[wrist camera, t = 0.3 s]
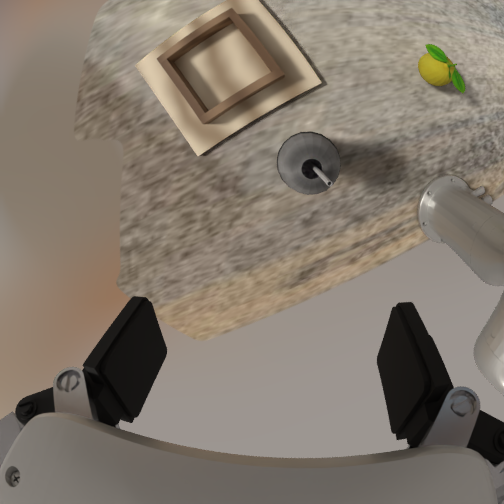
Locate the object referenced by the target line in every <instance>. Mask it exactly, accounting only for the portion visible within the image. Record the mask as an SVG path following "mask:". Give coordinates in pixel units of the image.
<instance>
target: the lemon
mask: <svg viewBox="0 0 504 504" xmlns="http://www.w3.org/2000/svg"><path fill="white" fill-rule="evenodd" d="M426 48H427V50H428V52H429V53H427V54H425V55H423V56H422V57H421V58H420V60H419V62H418V69H419V72H420V74H421V76H422V77H423V79H424V80H425V81H426V82H428V83H429V84H431V85H434V86H443V85H446V84H448V83H450V82H451V81H452V82H453V84H454V86H455V87H456V88H457V89H458V90H459V91H460V92H462V93H464V92H465V84H464V81H463V79H462V77H461V75H460V74H459V73H458V71H457V70H456V68H455V65H457V64H453V63H452V62H451V60H450V59H449V58H448V57H447V56H446V55H445V54H444V52H443V51H442V50H441V49H440V48H438V47H437V46H435V45H432V44H428V45H426Z"/></svg>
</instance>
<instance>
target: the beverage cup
mask: <svg viewBox="0 0 504 504" xmlns="http://www.w3.org/2000/svg"><path fill="white" fill-rule="evenodd" d="M277 167H278V172H279V174H280V176H281V178H282V180H283V181H284V182H285V183H286V184H287V185H288V186H289V187H290V188H292V189H294V190H295V191H297V192H299V193H303V194H307V195H309V194H318V193H321V192H324V191H326V190H327V189H328V188H330V187H331V186H332V185H333V184H334V182H335V181H336V179H337V178H338V175H339V171H340V167H341V165H340V156H339V153H338V151H337V148H336V147H335V145H334V144H333V143H332V142H331V141H330V139H328V138H326V137H325V136H323V135H322V134H318V133H315V132H300V133H298V134H295V135H293V136H291V137H290V138H289V139H287V140H286V141H285V142H284V143H283V145H282V146H281V148H280V150H279V152H278V157H277Z"/></svg>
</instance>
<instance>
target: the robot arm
mask: <svg viewBox="0 0 504 504" xmlns="http://www.w3.org/2000/svg"><path fill="white" fill-rule="evenodd" d="M483 193H485V189H484V187H483V186H480V187H478V188H477V189H476V190H471V189H470V188H469V187H468V185H467V184H466V183H465V182H464V181H463V180H462V179H460V178H459V177H456V176H454V175H442V176H439V177H437V178H435V179H433V180H432V181H431V182H430V183H429V184H428V185H427V186H426V188H425V189H424V191H423V192H422V194H421V197H420V200H419V204H418V212H417V214H418V221H419V225H420V227H421V229H422V231H423V232H424V234H425V235H426V236H427V237H428V238H429V239H431V240H432V241H434V242H437V243H446V244H447V245H448V246H449V247H450V248H451V249H452V250H453V251H454V252H455V253H456V254H458V256H459V257H460V258H461V259H462V260H463V261H464V262H465V263H466V264H467V265H468V266H469V267H470V268H471V270H472V271H474V273H475V274H476V275H477V276H478V277H479V278H480V279H481V280H482V281H483V282H485V283H487V284H489V285H493V286H504V213H502V212H501V211H499V210H498V209H496V208H494V207H493V206H491V204H492V198H491V196H490V195H489V194H487V195H485V196H484V197H482V198H481V199H479V198H478V196H480V195H482V194H483ZM423 222H424V223H423ZM166 354H167V347H166V344H165V342H164V339H163V336H162V333H161V330H160V327H159V324H158V321H157V318H156V315H155V311H154V308H153V305H152V303H151V302H150V301H149V300H148V299H147V298H146V297H136V296H134V297H132V298H131V299H130V301H129V302H128V303H127V304H126V306H125V307H124V308H123V310H122V311H121V312H120V314H119V315H118V316H117V318H116V319H115V321H114V322H113V323H112V324H111V326H110V327H109V329H108V330H107V331H106V333H105V334H104V335H103V337H102V338H101V340H100V341H99V342H98V344H97V345H96V347H95V348H94V349H93V351H92V352H91V354H90V355H89V356H88V358H87V359H86V361H85V362H84V364H83V366H84V369H83V370H82V371H81V370H80V369H79V368H77V367H68V368H66V369H63V370H62V371H60V372H59V373H58V374H57V375H56V377H55V379H54V382H53V387H52V388H49V389H46V390H43V391H41V392H38V393H35V394H32V395H29V396H27V397H25V398H23V399H22V400H21V401H20V402H19V403H18V405H17V407H16V411H15V413H14V412H11V413H10V414H8V415H7V416H5V417H4V418H3V419H1V420H0V504H504V422H502V421H500V420H498V419H496V418H494V417H492V416H491V415H489V414H487V413H485V412H483V411H481V410H480V401H479V398H478V396H477V394H476V393H475V392H474V391H473V390H471V389H469V388H467V387H456V388H454V387H453V385H452V382H451V380H450V377H449V375H448V372H447V370H446V368H445V365H444V363H443V361H442V358H441V356H440V354H439V351H438V349H437V347H436V345H435V343H434V341H433V338H432V337H431V336H430V335H429V334H428V332H427V330H426V328H425V326H424V324H423V322H422V320H421V318H420V316H419V314H418V312H417V310H416V308H415V306H414V304H413V303H412V302H404V303H398V304H397V305H396V307H393V308H392V311H391V314H390V318H389V321H388V325H387V328H386V331H385V334H384V338H383V341H382V344H381V347H380V350H379V353H378V356H377V365H378V369H379V373H380V377H381V382H382V386H383V391H384V395H385V400H386V405H387V410H388V415H389V420H390V426H391V431H392V433H393V434H395V433H396V438H397V440H400V439H406V438H407V442H408V444H409V445H408V447H407V449H404V450H398V451H391V452H384V453H377V454H368V455H358V456H348V457H332V458H272V457H257V456H246V455H237V454H228V453H221V452H214V451H208V450H202V449H197V448H191V447H186V446H181V445H177V444H172V443H168V442H164V441H160V440H156V439H152V438H148V437H145V436H141V435H138V434H135V433H131V432H128V431H125V430H121V429H120V427H119V424H118V423H119V421H120V419H121V420H123V421H126V422H130V423H132V422H133V420H134V418H135V417H138V415H139V414H140V412H141V409H142V407H143V405H144V403H145V400H146V398H147V396H148V394H149V392H150V390H151V387H152V385H153V383H154V381H155V379H156V377H157V375H158V372H159V370H160V368H161V366H162V364H163V362H164V360H165V358H166ZM474 359H475V362H476V365H477V367H478V369H479V370H480V372H481V373H482V374H483V375H484V377H485V378H486V379H487V380H488V381H489V382H490V383H491V384H492V385H493V386H494V387H495V388H496V389H497V390H498V391H499V392H500V393H501V394H502V395H503V396H504V292H503V294H502V296H501V298H500V301H499V303H498V305H497V306H496V308H495V310H494V311H493V313H492V315H491V316H490V319H489V320H488V322H487V324H486V325H485V327H484V328H483V330H482V331H481V333H480V335H479V336H478V338H477V340H476V343H475V347H474Z"/></svg>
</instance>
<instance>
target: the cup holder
mask: <svg viewBox="0 0 504 504" xmlns="http://www.w3.org/2000/svg"><path fill="white" fill-rule="evenodd" d="M135 66H136V67H137V69H138V70H139V72H140V73H141V74H142V76H143V77H144V79H145V80H146V82H147V83H148V85H149V86H150V87H151V89H152V90H153V92H154V93H155V95H156V96H157V98H158V99H159V100H160V102H161V103H162V105H163V106H164V108H165V109H166V111H167V112H168V114H169V115H170V116H171V118H172V119H173V121H174V122H175V124H176V125H177V127H178V128H179V130H180V131H181V132H182V134H183V135H184V137H185V138H186V140H187V141H188V143H189V144H190V146H191V147H192V149H193V150H194V151H195V153H196V154H197V156H200V155H202V154H203V153H204V152H206V151H207V150H209V149H210V148H212V147H213V146H215V145H216V144H218V143H219V142H221V141H222V140H224V139H225V138H227V137H228V136H230V135H231V134H233V133H235V132H236V131H238V130H239V129H241V128H243V127H244V126H246V125H247V124H249V123H251V122H252V121H254V120H256V119H257V118H259V117H261V116H262V115H264V114H266V113H267V112H269V111H271V110H273V109H274V108H276V107H278V106H280V105H282V104H283V103H285V102H287V101H289V100H291V99H292V98H294V97H296V96H298V95H300V94H302V93H304V92H306V91H308V90H310V89H311V88H313V87H315V86H317V85H319V84H321V83H322V82H321V81H320V79H319V78H318V76H317V75H316V73H315V72H314V70H313V69H312V67H311V66H310V65H309V63H308V62H307V60H306V59H305V58H304V56H303V55H302V53H301V52H300V51H299V49H298V48H297V47H296V45H295V44H294V43H293V41H292V40H291V39H290V37H289V36H288V35H287V34H286V32H285V31H284V30H283V29H282V27H281V26H280V25H279V24H278V22H277V21H276V20H275V19H274V18H273V16H272V15H271V14H270V13H269V12H268V11H267V9H266V8H265V7H264V6H263V5H262V4H261V3H260V2H259V0H226V1H225V2H223V3H221V4H219V5H218V6H216V7H214V8H213V9H211V10H209V11H208V12H206V13H204V14H203V15H201V16H200V17H198V18H197V19H195V20H194V21H192V22H191V23H189V24H188V25H186V26H185V27H183V28H182V29H180V30H179V31H178V32H176V33H175V34H173V35H172V36H171V37H169V38H168V39H167V40H165V41H164V42H163V43H162V44H160V45H159V46H158V47H156V48H155V49H154V50H153V51H152V52H150V53H149V54H148V55H147V56H145V57H144V58H143V59H142V60H141V61H140V62H138V63H137V64H136V65H135Z"/></svg>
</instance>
